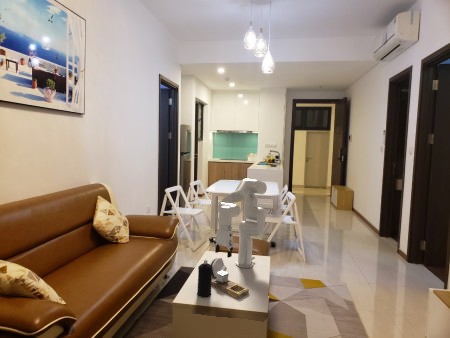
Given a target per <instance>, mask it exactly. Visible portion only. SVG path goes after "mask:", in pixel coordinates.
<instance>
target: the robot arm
mask: <svg viewBox="0 0 450 338" xmlns="http://www.w3.org/2000/svg"><path fill="white" fill-rule="evenodd" d="M267 190H268V188H267V184H266V182H264V181H262V180H259V179H253V178H252V179H251V178H243V179H242V180H241V181H240V182H239V184H238V186H237V187H236V188H235V190H234V191H232V192H231V193H228V194H226V195H225V196H223V197H222V198H221V200H220V201H219V203H218V205H217V212H218V214H219V215H218V228H217V230H216V235H215V236H214V237H213V238H212V239H213V244H214V246H215V251H214V253H215V254H217V253H220V250H221V249H220V247H221V246H222V247H225V248H226V249H227V253H226V254H227V258H228V259H229V258H231V257H232V254H233V251H234V250H235V248H236V244H235V242H234V235H233V234H234V232H233V226H232V222H233V221H232V219H233V218H237V217H238V216H240V214H241V211H242V209H241V206H240V205H238V204H236V203H239V202H243V201H245V203H244V209H243V218H245V219H247V220H241V221H240V222H239V224H238V235H239V236H238V237H239V238H238V253H237V254H238V255H237V259H238V260H236V261H235V266H237V267H239V268H243V269H248V268H249V269H250V268H252V267H254V263H253V260H255V259H256V258H255V256H253V237H257V238H261V237H262V235H264V230H265V223H266V218H267V211H266V209H265V208H264V207H261V206H260V207H259V206H258V196H257V195H256V194H258V195H265V193H267ZM255 221H256V222H255Z"/></svg>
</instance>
